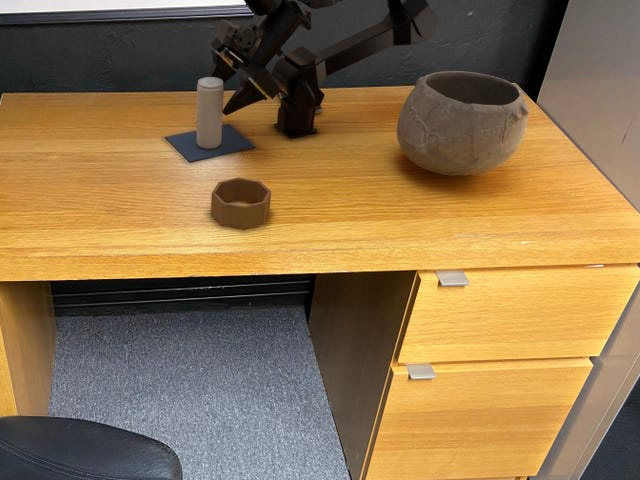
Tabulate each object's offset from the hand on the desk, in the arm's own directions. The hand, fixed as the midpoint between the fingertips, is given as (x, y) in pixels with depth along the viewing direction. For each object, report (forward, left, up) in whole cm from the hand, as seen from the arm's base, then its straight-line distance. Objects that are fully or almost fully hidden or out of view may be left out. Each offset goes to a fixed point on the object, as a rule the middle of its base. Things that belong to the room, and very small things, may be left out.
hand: (213, 104), depth 127 cm
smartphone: (-26, -11, -8) cm, 30 cm away
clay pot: (-35, +26, -8) cm, 44 cm away
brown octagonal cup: (+7, +24, -8) cm, 26 cm away
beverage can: (+1, 0, -8) cm, 8 cm away
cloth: (0, -1, -8) cm, 8 cm away
